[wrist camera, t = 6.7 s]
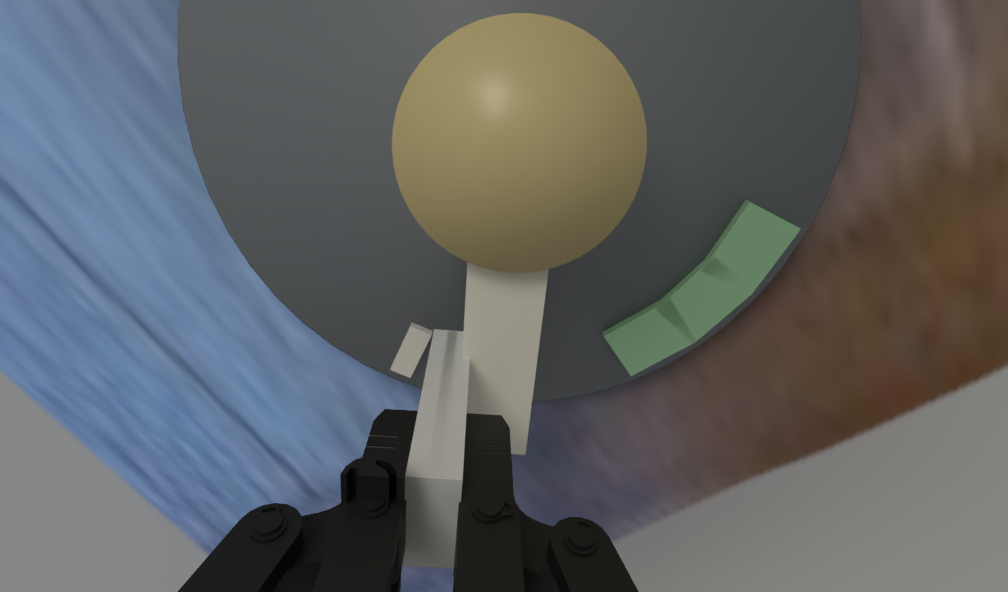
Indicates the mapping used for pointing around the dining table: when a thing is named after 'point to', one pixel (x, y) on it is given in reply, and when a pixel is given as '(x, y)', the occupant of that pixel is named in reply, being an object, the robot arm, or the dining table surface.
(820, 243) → the dining table surface
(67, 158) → the dining table surface
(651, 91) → the plate
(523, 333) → the round-headed handle
